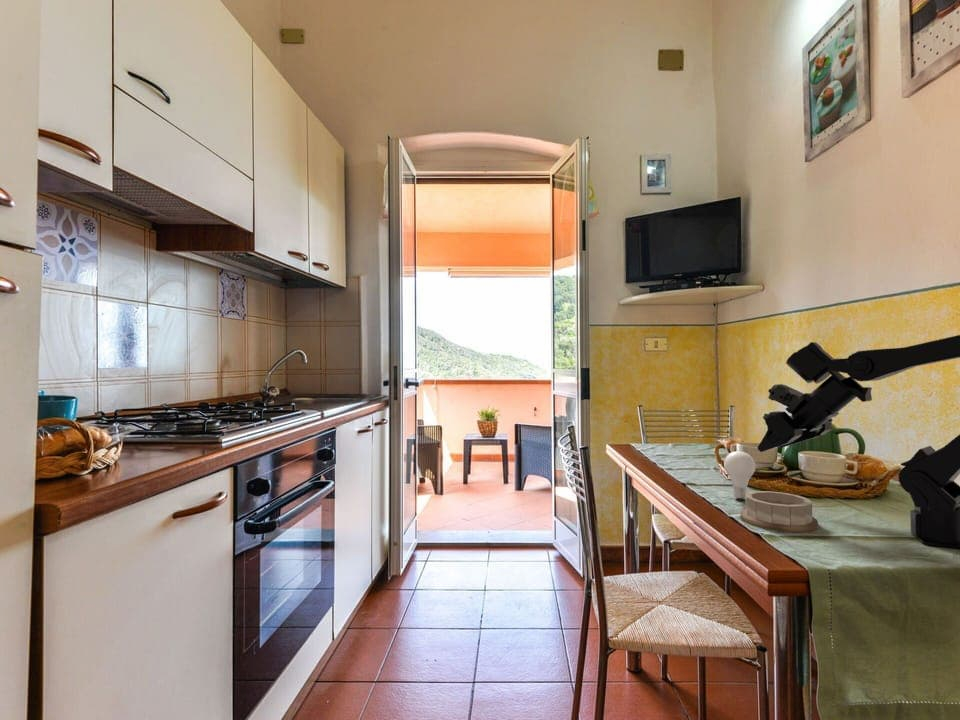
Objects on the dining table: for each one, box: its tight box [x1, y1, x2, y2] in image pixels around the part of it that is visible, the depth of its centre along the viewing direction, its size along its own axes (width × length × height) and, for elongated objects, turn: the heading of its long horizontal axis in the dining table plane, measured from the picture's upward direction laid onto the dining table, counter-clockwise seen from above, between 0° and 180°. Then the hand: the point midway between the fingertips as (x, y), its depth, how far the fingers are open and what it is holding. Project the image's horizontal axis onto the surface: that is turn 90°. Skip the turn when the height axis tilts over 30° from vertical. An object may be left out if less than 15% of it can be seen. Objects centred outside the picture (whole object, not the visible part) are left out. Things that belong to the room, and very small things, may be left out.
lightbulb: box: [723, 450, 756, 501], centre depth 114 cm, size 6×6×11 cm
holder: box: [740, 490, 819, 533], centre depth 98 cm, size 13×13×4 cm
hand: (769, 447), depth 109 cm, fingers open, 9 cm apart
